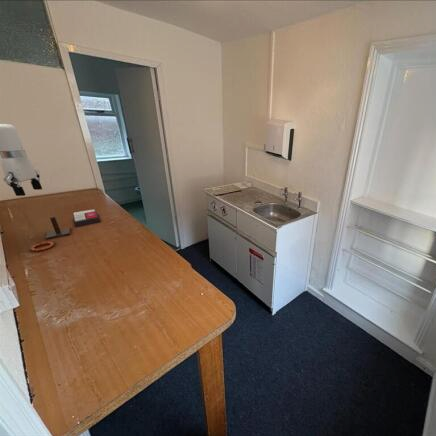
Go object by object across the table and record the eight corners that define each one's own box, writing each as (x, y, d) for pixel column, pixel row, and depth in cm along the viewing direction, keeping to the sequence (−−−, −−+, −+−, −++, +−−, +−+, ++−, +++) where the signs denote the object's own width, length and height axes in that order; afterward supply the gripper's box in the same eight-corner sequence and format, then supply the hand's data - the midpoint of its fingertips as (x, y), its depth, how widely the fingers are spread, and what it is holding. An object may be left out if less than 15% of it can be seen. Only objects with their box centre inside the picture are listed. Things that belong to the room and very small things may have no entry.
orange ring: (29, 253, 107) (28, 251, 106) (32, 246, 112) (31, 244, 112) (53, 248, 112) (52, 246, 111) (55, 241, 117) (54, 239, 117)
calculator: (73, 221, 132) (72, 211, 141) (76, 227, 134) (74, 218, 143) (98, 216, 139) (94, 208, 148) (100, 222, 141) (96, 214, 150)
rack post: (46, 239, 119) (38, 221, 115) (48, 233, 125) (41, 216, 121) (69, 234, 124) (63, 217, 121) (70, 228, 131) (64, 212, 127)
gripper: (20, 151, 108) (35, 187, 114) (-17, 157, 92) (2, 198, 99) (39, 151, 109) (53, 187, 116) (6, 157, 93) (24, 198, 100)
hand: (29, 192), depth 107 cm, fingers open, 9 cm apart
